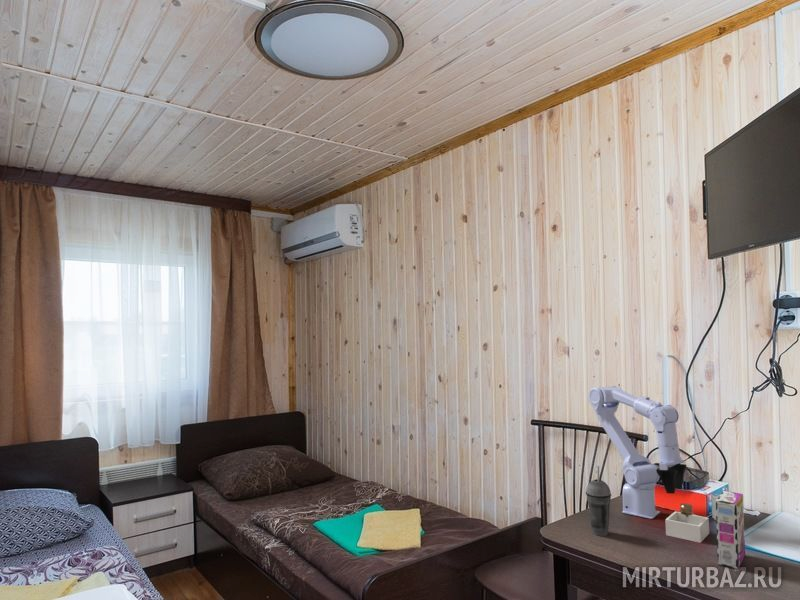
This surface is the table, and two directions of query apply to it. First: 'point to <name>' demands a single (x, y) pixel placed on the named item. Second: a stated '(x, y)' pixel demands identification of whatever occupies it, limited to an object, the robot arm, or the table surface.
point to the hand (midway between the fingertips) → (674, 490)
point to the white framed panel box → (687, 527)
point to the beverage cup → (598, 505)
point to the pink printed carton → (730, 529)
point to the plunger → (686, 511)
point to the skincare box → (714, 505)
